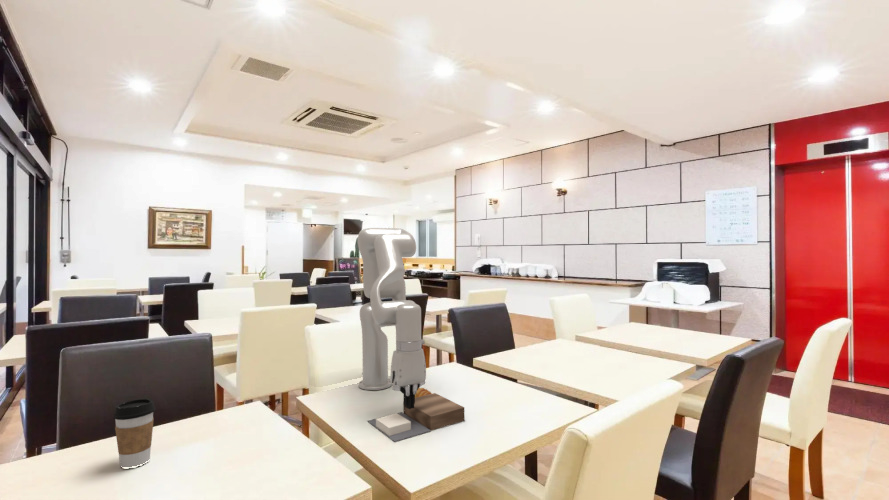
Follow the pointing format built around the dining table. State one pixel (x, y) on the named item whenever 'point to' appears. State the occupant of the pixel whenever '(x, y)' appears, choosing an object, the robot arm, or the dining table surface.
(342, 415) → the dining table surface
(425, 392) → the pastry
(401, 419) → the tile
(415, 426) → the mat
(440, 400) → the serving board
